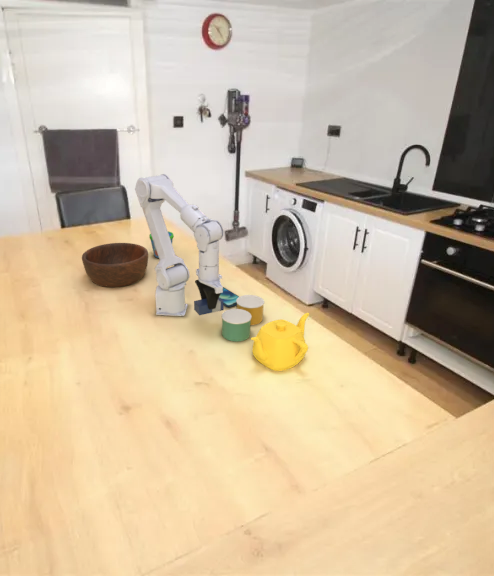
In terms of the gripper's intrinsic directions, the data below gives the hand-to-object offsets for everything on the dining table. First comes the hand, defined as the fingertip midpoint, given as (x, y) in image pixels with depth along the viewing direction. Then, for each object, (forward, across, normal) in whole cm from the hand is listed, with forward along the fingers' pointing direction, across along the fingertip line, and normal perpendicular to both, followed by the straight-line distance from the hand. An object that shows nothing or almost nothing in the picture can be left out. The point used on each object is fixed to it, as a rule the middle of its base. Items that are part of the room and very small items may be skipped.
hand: (208, 305), depth 123 cm
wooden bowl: (+8, +50, +17) cm, 54 cm away
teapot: (+8, -24, -11) cm, 27 cm away
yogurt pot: (+8, -7, -6) cm, 12 cm away
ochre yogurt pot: (+8, 0, -14) cm, 16 cm away
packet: (+2, 0, 0) cm, 2 cm away
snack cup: (+8, +65, -7) cm, 66 cm away
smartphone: (+8, +17, -14) cm, 23 cm away
